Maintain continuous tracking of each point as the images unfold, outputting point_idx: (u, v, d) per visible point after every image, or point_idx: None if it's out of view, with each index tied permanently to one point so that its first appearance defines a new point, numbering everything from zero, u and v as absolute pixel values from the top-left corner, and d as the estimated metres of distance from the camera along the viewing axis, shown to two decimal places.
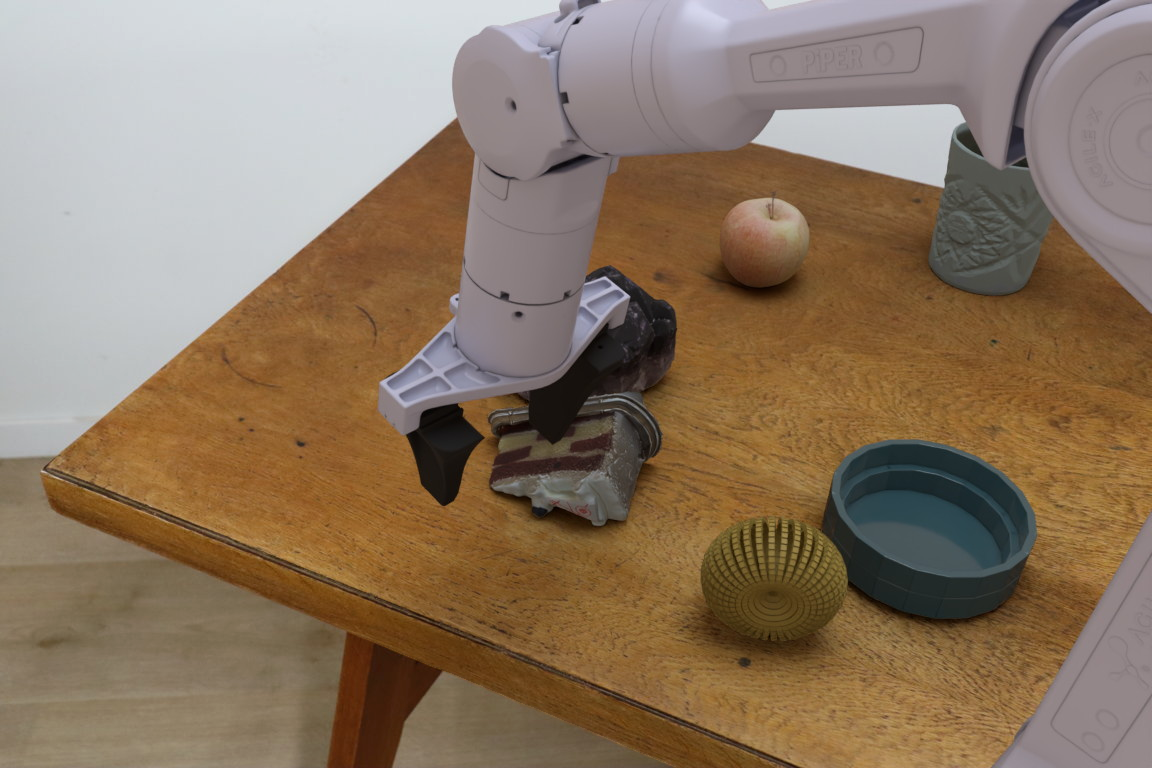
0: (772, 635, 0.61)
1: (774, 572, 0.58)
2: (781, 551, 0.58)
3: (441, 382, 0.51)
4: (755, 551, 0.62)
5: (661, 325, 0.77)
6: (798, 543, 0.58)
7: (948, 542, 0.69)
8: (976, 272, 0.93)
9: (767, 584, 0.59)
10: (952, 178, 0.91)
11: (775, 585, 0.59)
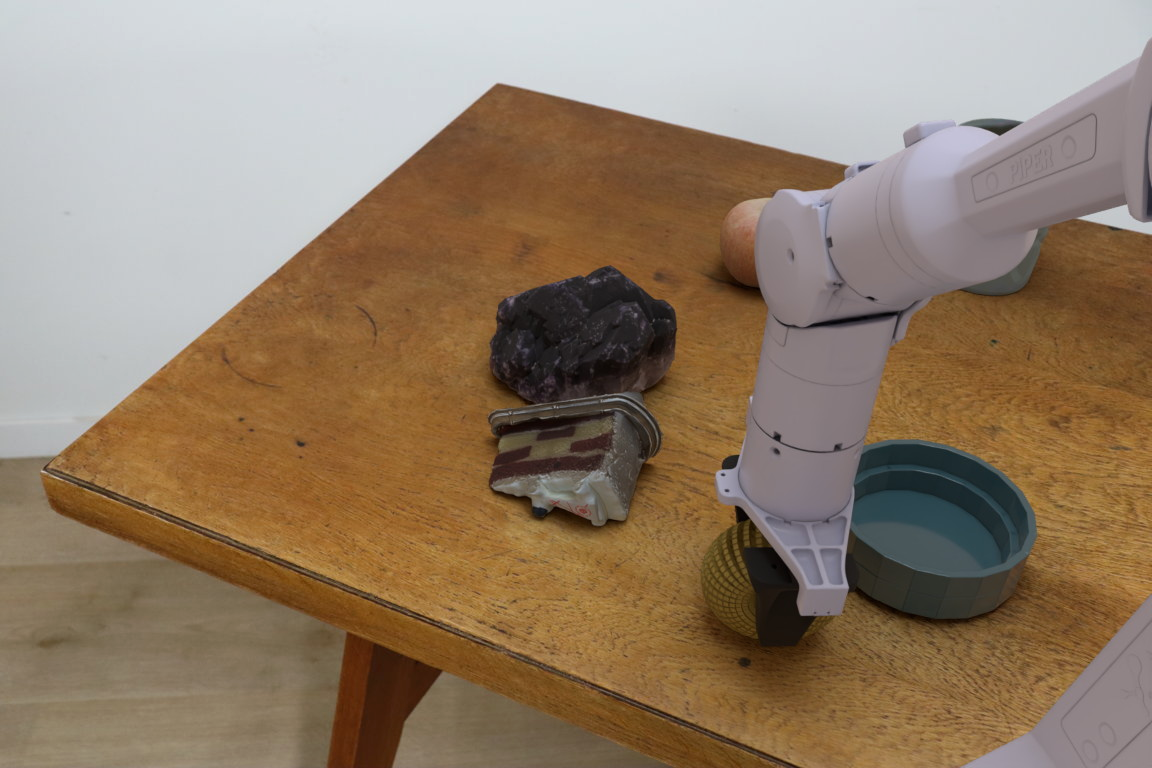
0: None
1: None
2: None
3: (823, 551, 0.53)
4: None
5: (661, 325, 0.77)
6: None
7: (948, 542, 0.69)
8: None
9: None
10: None
11: None
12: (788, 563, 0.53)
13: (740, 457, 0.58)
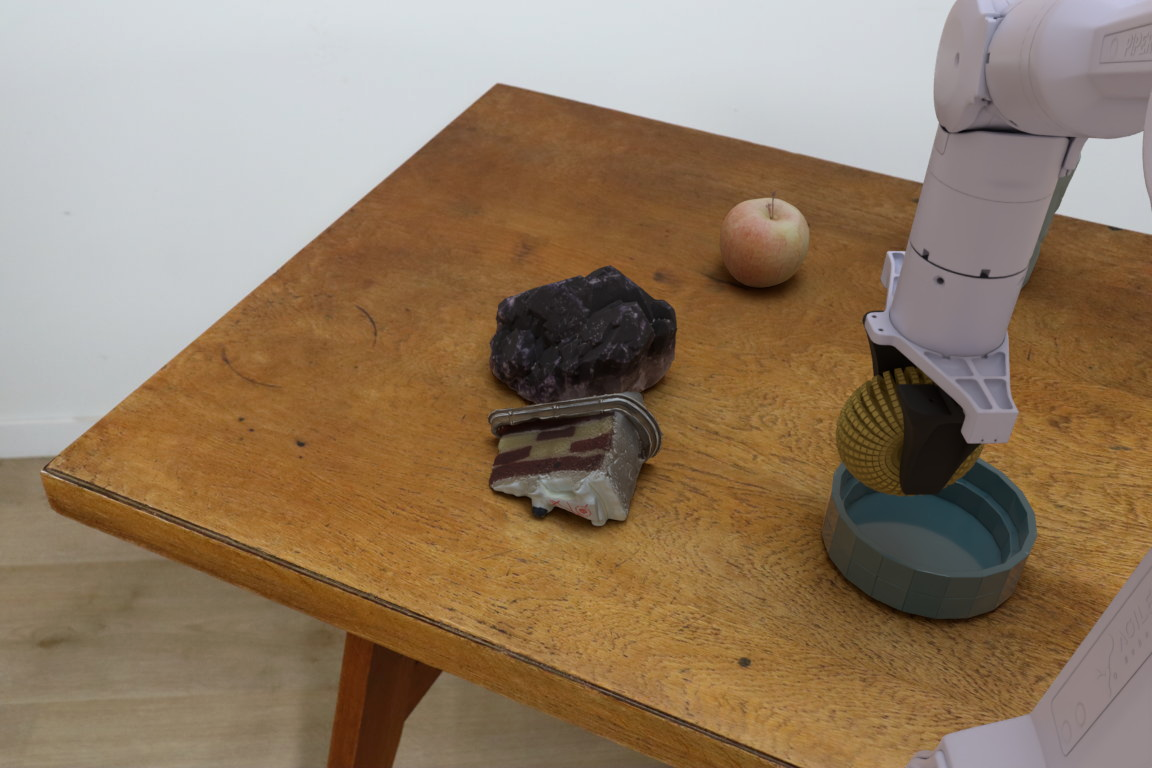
0: None
1: None
2: None
3: (986, 382, 0.53)
4: None
5: (661, 325, 0.77)
6: None
7: (948, 542, 0.69)
8: None
9: None
10: None
11: None
12: (952, 393, 0.52)
13: (888, 302, 0.58)
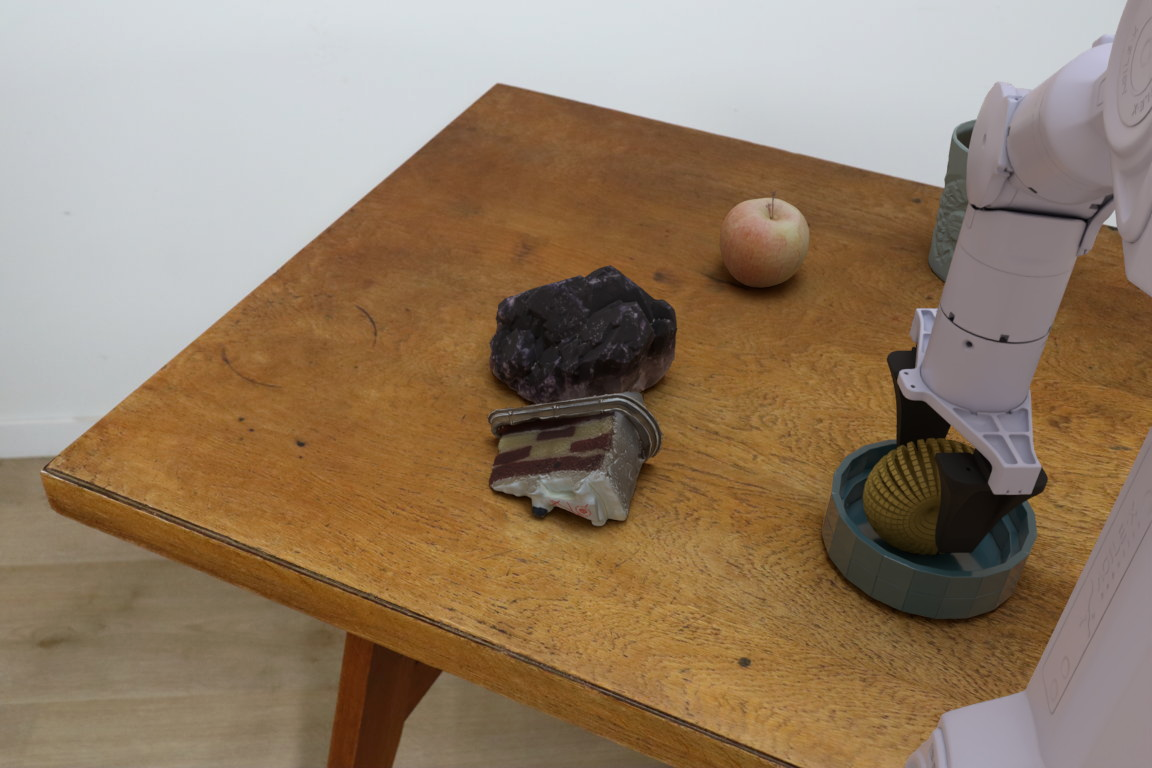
0: (934, 548, 0.66)
1: None
2: None
3: (1011, 437, 0.57)
4: (910, 473, 0.67)
5: (661, 325, 0.77)
6: None
7: None
8: None
9: (935, 499, 0.64)
10: (952, 178, 0.91)
11: None
12: (980, 447, 0.57)
13: (919, 359, 0.62)
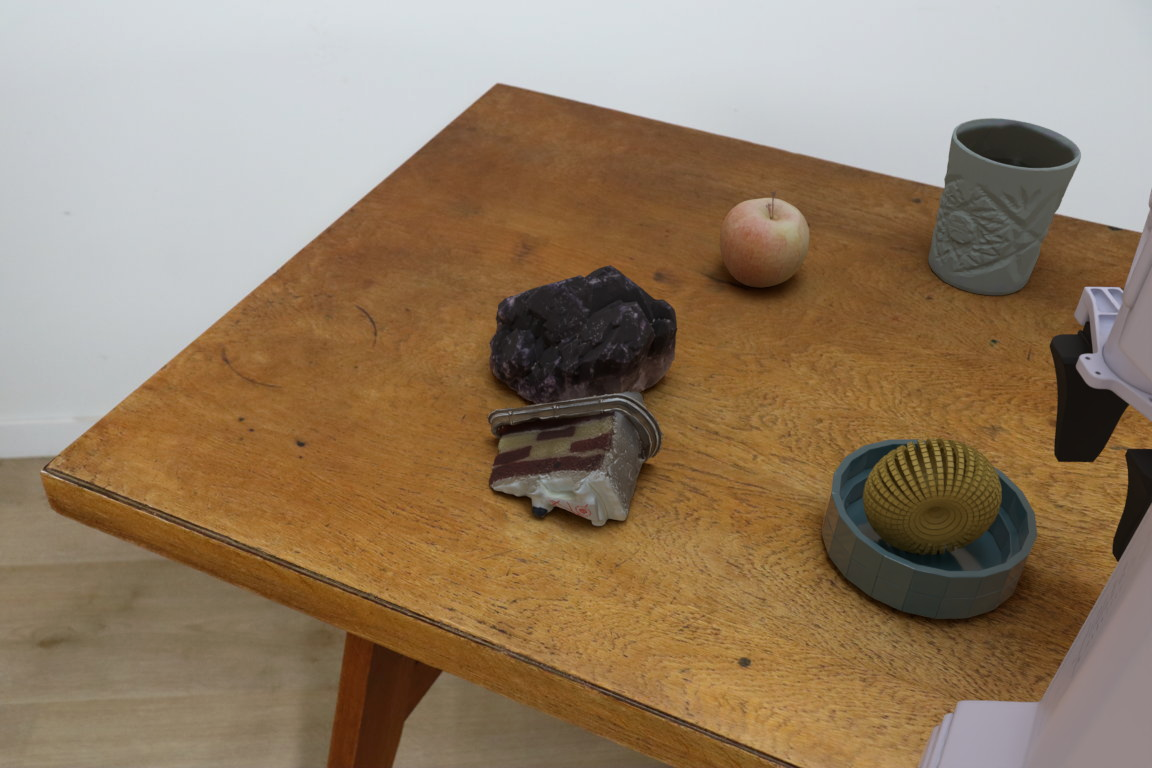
0: (934, 548, 0.66)
1: (943, 487, 0.63)
2: (948, 468, 0.63)
3: None
4: (910, 473, 0.67)
5: (661, 325, 0.77)
6: (963, 459, 0.63)
7: None
8: (976, 272, 0.93)
9: (935, 499, 0.64)
10: (952, 178, 0.91)
11: (942, 500, 0.64)
12: None
13: (1099, 342, 0.55)
